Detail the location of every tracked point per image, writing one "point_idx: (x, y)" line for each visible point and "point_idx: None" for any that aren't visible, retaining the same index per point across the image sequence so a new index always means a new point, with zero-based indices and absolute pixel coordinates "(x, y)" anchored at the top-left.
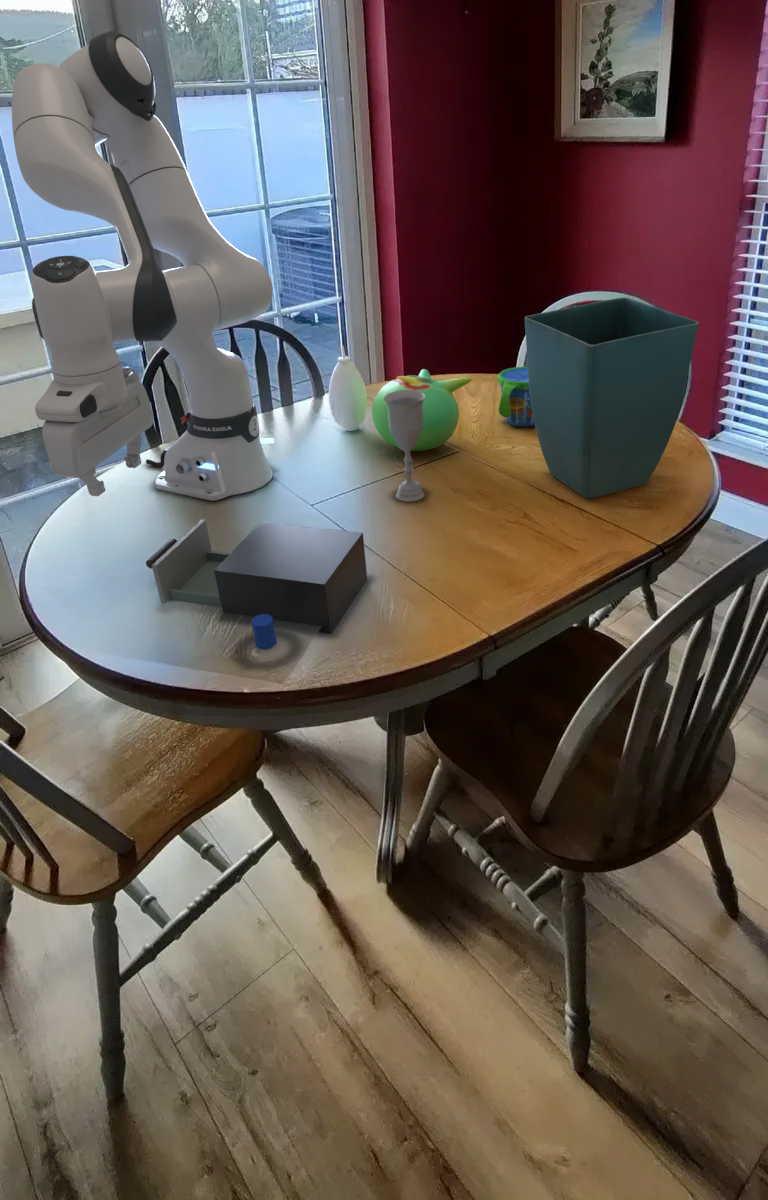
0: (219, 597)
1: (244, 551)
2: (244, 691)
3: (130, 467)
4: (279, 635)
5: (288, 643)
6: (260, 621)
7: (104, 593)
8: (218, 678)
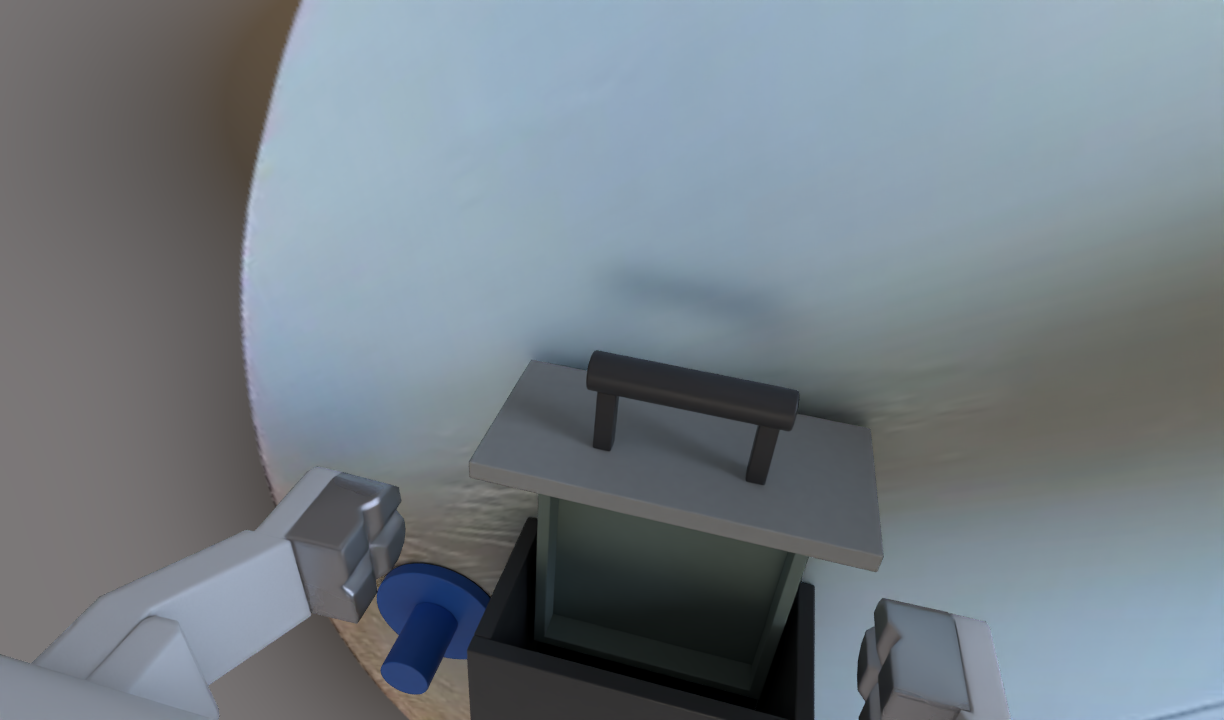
0: (538, 547)
1: (593, 710)
2: None
3: (875, 615)
4: None
5: None
6: (397, 676)
7: (589, 84)
8: None
